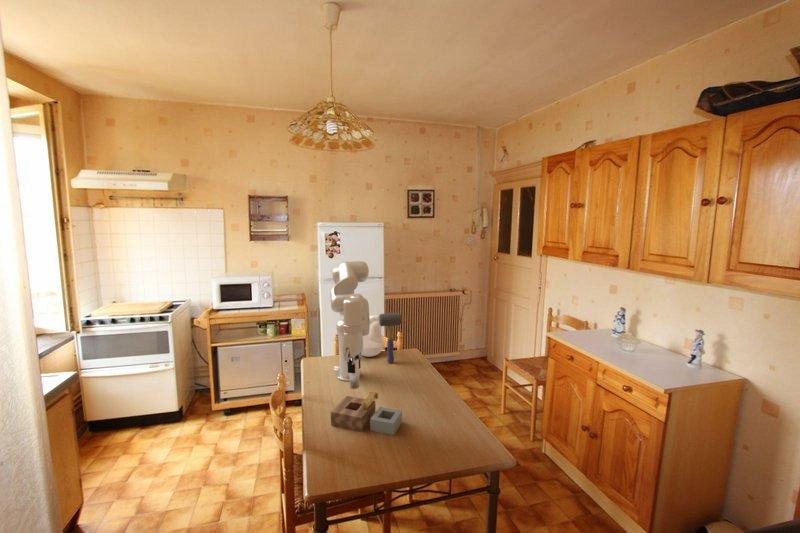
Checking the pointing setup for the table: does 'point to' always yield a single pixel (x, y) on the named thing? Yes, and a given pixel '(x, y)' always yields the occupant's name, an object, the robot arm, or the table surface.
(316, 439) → the table surface
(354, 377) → the steel peg
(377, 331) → the decorative rooster
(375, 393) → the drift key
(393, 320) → the rubber mallet
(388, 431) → the grey square ring block
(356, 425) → the socket block
